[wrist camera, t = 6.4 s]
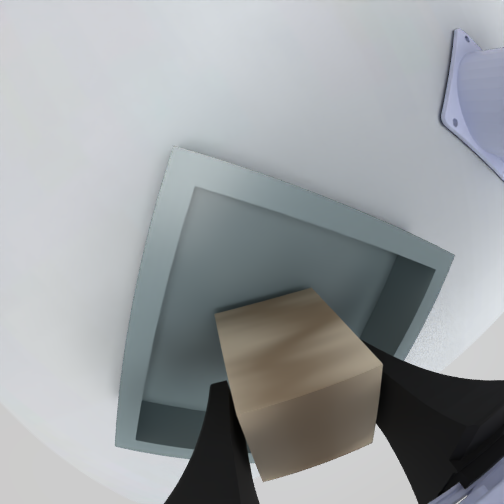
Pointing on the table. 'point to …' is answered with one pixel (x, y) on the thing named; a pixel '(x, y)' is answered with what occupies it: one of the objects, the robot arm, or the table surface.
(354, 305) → the bin
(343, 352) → the block
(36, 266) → the table surface
